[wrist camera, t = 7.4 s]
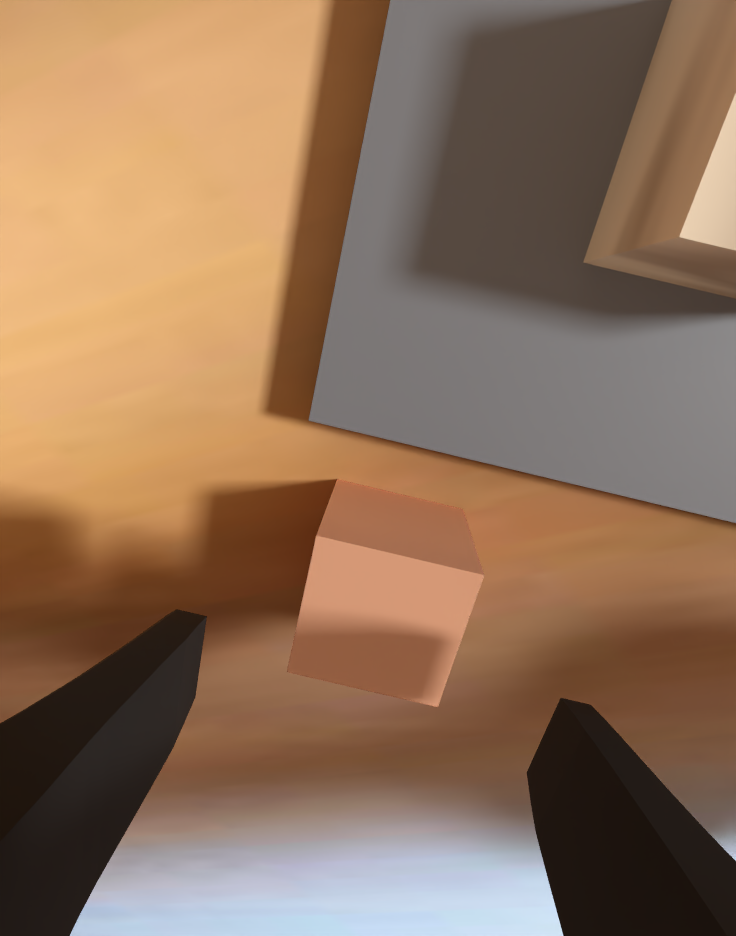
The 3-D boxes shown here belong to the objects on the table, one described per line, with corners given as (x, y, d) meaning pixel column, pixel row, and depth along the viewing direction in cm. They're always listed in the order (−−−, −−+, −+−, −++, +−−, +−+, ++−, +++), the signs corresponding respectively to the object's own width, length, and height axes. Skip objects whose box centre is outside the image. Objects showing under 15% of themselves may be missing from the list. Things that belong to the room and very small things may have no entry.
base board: (1283, -193, 9) (1444, -285, 8) (840, 535, 14) (889, 559, 13) (480, -406, 9) (495, -540, 8) (318, 409, 14) (308, 420, 13)
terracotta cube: (462, 508, 15) (484, 575, 11) (428, 614, 16) (437, 707, 12) (337, 478, 15) (316, 535, 11) (313, 587, 16) (287, 672, 12)
